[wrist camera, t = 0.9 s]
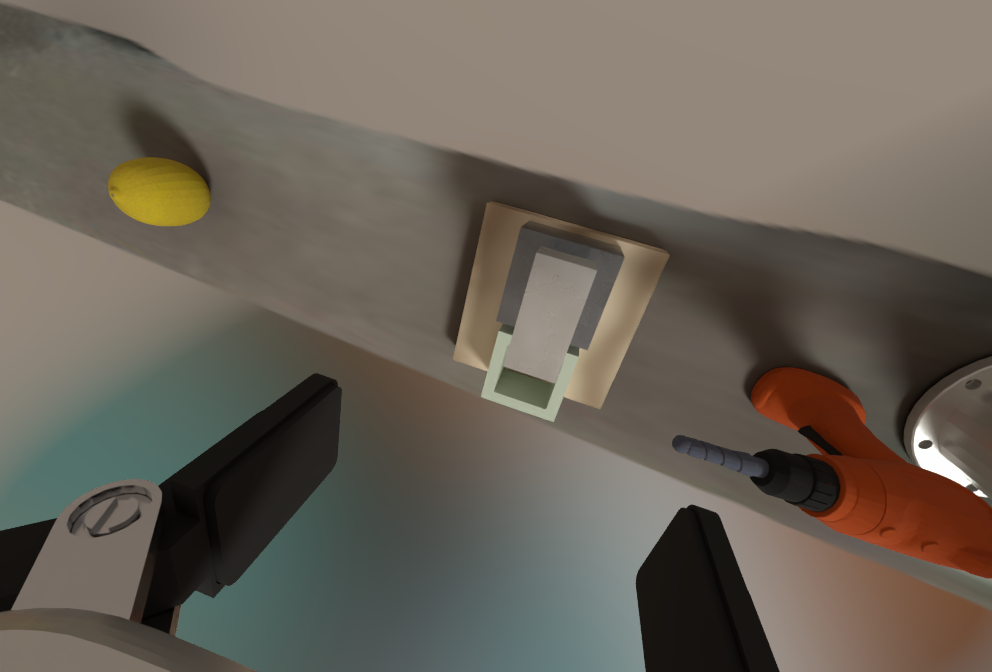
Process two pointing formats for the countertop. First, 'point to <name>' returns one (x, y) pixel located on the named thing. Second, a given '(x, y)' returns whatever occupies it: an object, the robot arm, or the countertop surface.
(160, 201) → the lemon
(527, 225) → the block
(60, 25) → the countertop surface
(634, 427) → the countertop surface
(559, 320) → the light grey block
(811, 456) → the toy drill
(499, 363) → the pale green hollow frame
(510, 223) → the board
